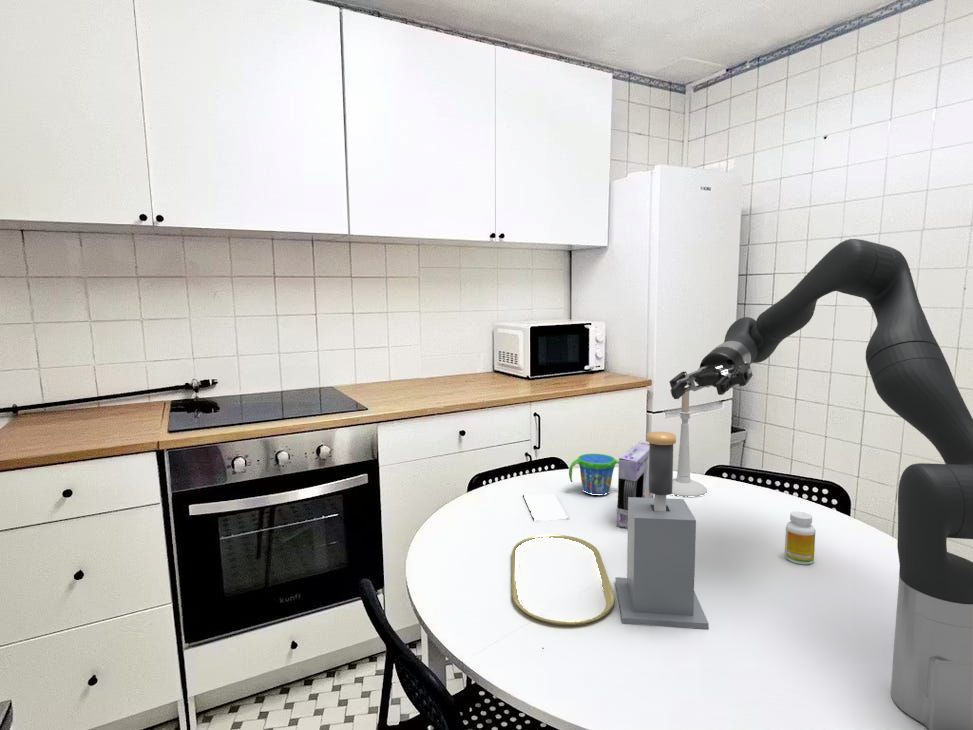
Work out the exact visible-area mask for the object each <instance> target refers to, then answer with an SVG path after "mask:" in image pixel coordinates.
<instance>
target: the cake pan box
mask: <svg viewBox="0 0 973 730" xmlns="http://www.w3.org/2000/svg"><path fill="white" fill-rule="evenodd" d="M618 461H619V464H618V476H617V477H618V479H617V481H618V482H617V505H616V506H617V508H616V511H617V512H616V527H617V526H621V527H620V528H622V527H625V528H624V529H627V528H628V497H637V498H654V494H653V493H650V492H649V442H647V440H640V441H638V442H637V443H636V444H635V445H634V446H631V447H630V448H629V449H628V450H627V451H626V453H624V454H622V455H621V456H620V457H619V459H618Z"/></svg>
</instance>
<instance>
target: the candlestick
mask: <svg viewBox="0 0 973 730" xmlns="http://www.w3.org/2000/svg"><path fill="white" fill-rule="evenodd" d="M686 387H687V386H685V388H686ZM678 413H679V418H680V419H681V423H680V437H679V450H678V461H677V463H678V464H677V474H676V478H673V485H672V494H674V495H679V496H700V495H704V494H705V493H707V494H708V488H707V487H706V486H705V485H704V484H702V483H700V482H699V481H696V480H694V479H691V467H690V461H691V460H690V435H689V433H690V431H689V429H690V428H689V426H690V425H689V420H690V418H691V414H692V411H690V391H688V392H685V393H684V394H683V395H682V396H681V410H679V411H678ZM704 496H705V495H704ZM700 497H701V496H700Z"/></svg>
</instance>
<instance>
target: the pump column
mask: <svg viewBox="0 0 973 730" xmlns="http://www.w3.org/2000/svg"><path fill="white" fill-rule="evenodd" d="M696 531H697V520H696V518H695V516H694V515H693V513H692V511H691V509H690V508H689V506H688V504H687V502H686V501H685V499H684V498H667V497H666V511H654V498H637V497H628V529H627V544H626V545H627V547H626V548H627V551H626V552H627V553H626V554H627V557H626V563H627V564H626V566H627V567H626V577H621V576H620V577H617V576H616V577H615V578H614V579H615V581H614V582H616V583H615V587H616V588H617V589H616V594H617V595H616V596H617V600H618V605H619V611H620V615H621V616H620V617H621V622H622V624H626V625H627V624H628V625H643V626H658V627H670V628H671V627H672V628H688V629H701V630H702V629H703V630H709V625H710V623H709V621H708V619H707V616H706V614H705V612H704V610H703V608H702V605H701V603H700V601H699V599H698V596H697V594H696V591H695V577H696V576H695V575H696V574H695V571H696V569H695V568H696V565H695V564H696V562H695V561H696V539H697V538H696V537H697V536H696Z"/></svg>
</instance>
